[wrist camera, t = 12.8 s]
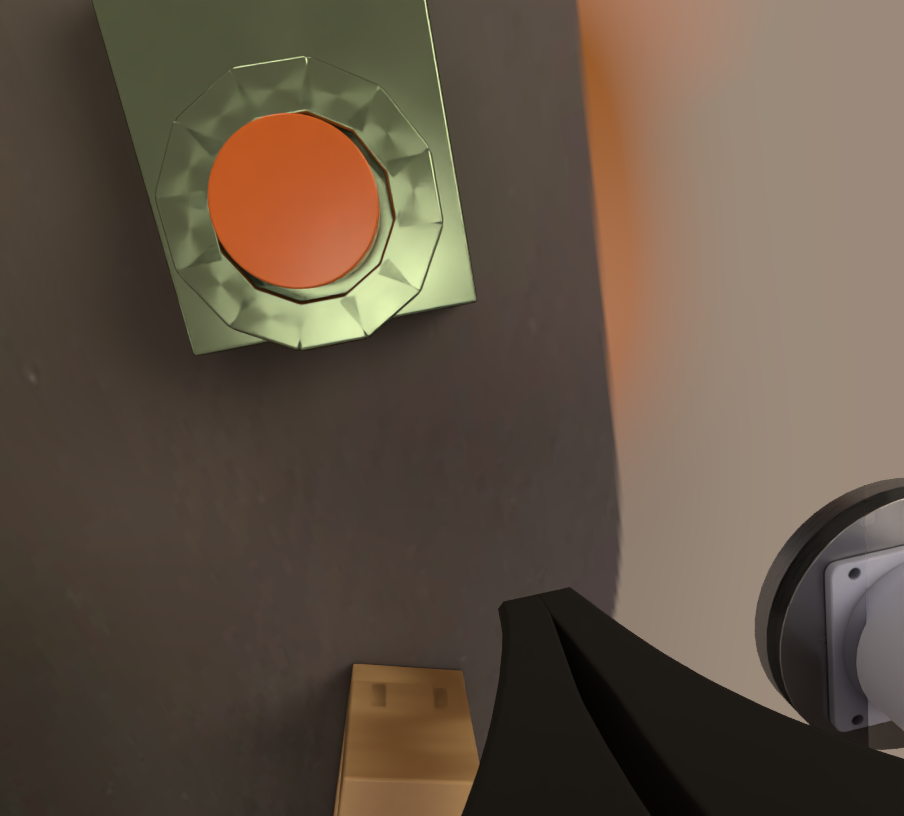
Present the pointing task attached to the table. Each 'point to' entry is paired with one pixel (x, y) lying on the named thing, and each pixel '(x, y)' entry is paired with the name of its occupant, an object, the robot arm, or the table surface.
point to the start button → (294, 201)
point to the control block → (304, 92)
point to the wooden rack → (406, 743)
